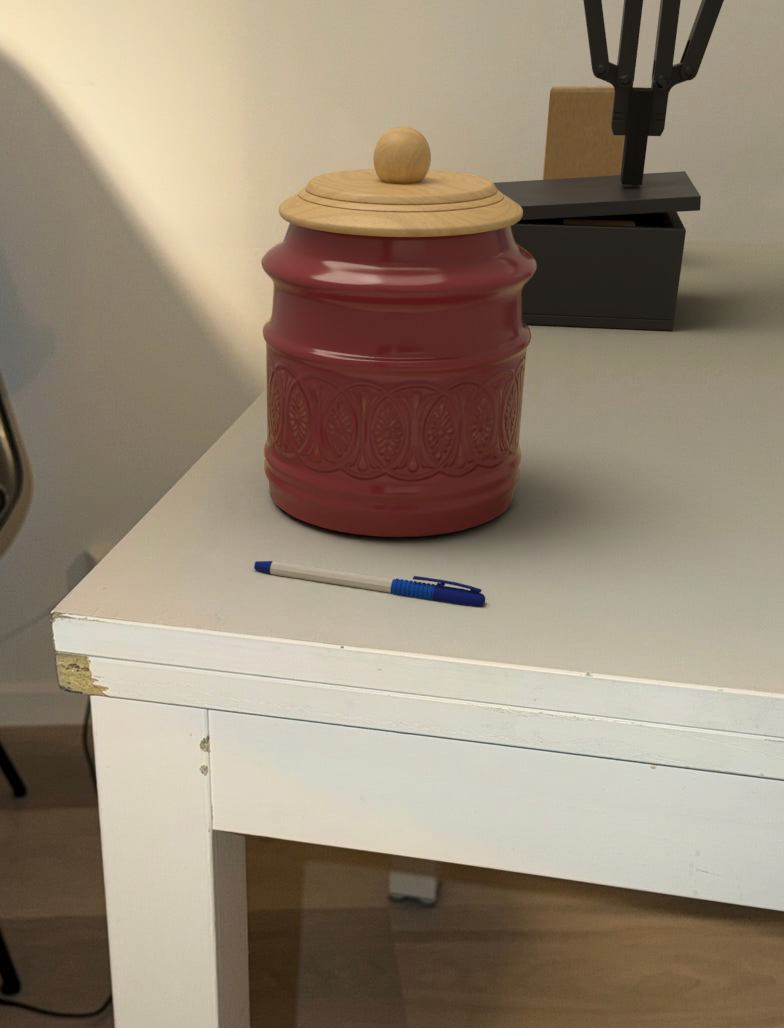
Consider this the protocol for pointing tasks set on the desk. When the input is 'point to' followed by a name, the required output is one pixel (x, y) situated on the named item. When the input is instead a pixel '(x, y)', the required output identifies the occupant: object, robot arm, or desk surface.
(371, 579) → the ballpoint pen
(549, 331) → the desk surface
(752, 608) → the desk surface
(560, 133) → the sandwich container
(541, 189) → the black box cover
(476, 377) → the kitchen canister
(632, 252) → the dark grey storage bin
